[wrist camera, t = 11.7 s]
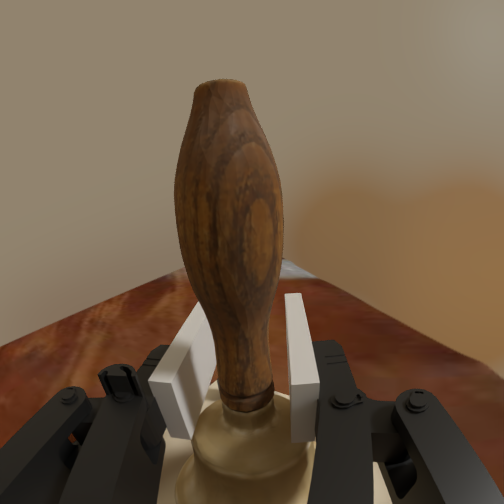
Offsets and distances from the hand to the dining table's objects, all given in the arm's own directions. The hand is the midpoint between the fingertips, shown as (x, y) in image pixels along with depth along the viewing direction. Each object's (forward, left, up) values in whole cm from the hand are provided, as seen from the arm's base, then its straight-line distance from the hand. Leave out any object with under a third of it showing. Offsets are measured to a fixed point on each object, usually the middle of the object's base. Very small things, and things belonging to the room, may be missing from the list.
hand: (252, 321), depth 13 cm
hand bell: (+3, -5, -7) cm, 9 cm away
